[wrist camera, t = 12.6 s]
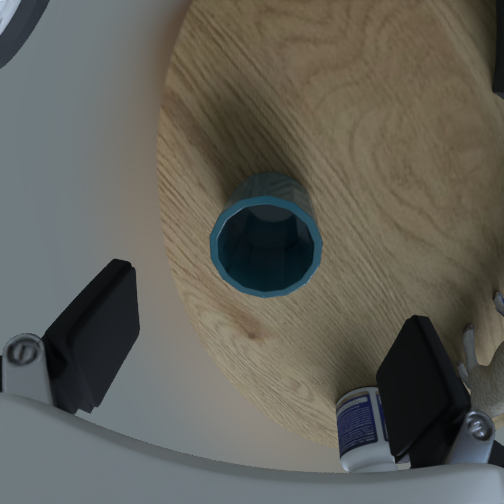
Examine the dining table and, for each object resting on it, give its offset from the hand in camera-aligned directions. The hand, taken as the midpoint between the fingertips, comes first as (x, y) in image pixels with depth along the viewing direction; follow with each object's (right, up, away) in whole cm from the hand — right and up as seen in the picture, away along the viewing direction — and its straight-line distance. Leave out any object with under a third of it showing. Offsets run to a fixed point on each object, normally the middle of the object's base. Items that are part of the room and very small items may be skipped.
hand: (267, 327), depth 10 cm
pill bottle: (+11, -13, +18) cm, 25 cm away
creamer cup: (+1, +5, +10) cm, 11 cm away
